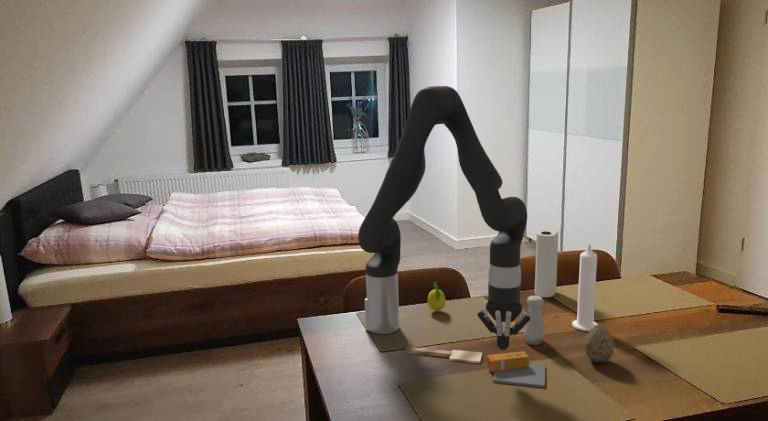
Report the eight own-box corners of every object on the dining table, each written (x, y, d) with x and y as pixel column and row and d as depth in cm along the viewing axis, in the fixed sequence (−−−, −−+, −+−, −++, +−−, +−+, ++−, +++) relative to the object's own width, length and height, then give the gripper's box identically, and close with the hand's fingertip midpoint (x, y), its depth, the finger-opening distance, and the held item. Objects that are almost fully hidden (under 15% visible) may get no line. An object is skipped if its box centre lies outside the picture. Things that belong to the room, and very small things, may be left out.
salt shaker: (545, 347, 156) (547, 301, 153) (523, 345, 157) (524, 300, 154) (544, 337, 161) (545, 293, 158) (522, 336, 163) (524, 292, 160)
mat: (492, 381, 139) (492, 379, 139) (496, 362, 148) (496, 360, 148) (544, 387, 136) (544, 385, 136) (544, 367, 145) (545, 365, 145)
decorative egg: (577, 358, 149) (579, 322, 147) (598, 352, 152) (600, 317, 150) (597, 370, 143) (599, 333, 141) (619, 364, 146) (621, 327, 143)
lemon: (433, 306, 186) (433, 276, 183) (449, 309, 182) (449, 279, 180) (422, 313, 180) (422, 282, 178) (438, 317, 177) (438, 286, 175)
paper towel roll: (535, 297, 190) (537, 235, 185) (533, 291, 196) (535, 230, 191) (558, 298, 189) (560, 235, 184) (556, 291, 194) (558, 230, 190)
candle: (571, 329, 166) (575, 246, 160) (573, 320, 172) (577, 239, 166) (597, 333, 163) (602, 248, 157) (598, 323, 170) (603, 241, 164)
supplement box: (491, 373, 142) (529, 368, 144) (491, 361, 142) (529, 355, 143) (486, 367, 146) (524, 361, 147) (486, 354, 145) (524, 349, 146)
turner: (404, 355, 153) (404, 352, 153) (408, 347, 158) (408, 344, 158) (480, 363, 148) (480, 360, 148) (482, 354, 153) (482, 351, 153)
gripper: (474, 284, 135) (473, 353, 139) (532, 288, 132) (530, 358, 135) (478, 274, 142) (477, 339, 146) (533, 277, 139) (531, 344, 143)
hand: (503, 348), depth 141 cm, fingers closed
